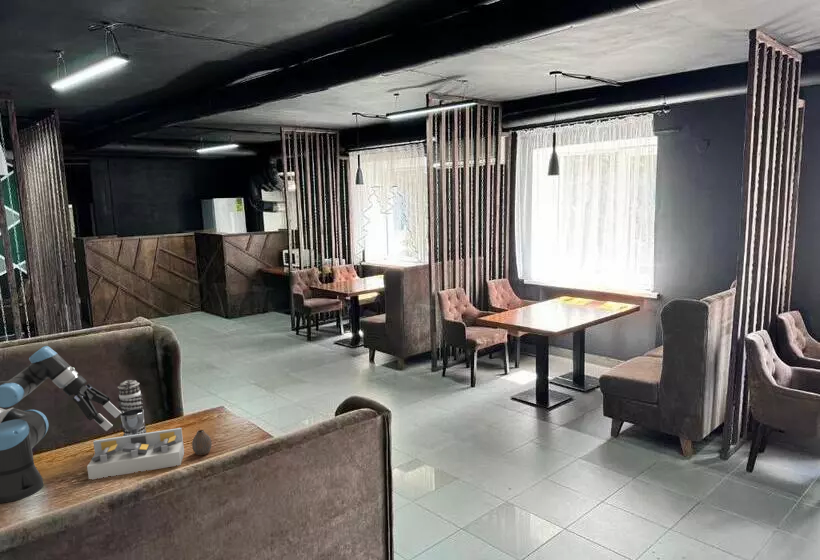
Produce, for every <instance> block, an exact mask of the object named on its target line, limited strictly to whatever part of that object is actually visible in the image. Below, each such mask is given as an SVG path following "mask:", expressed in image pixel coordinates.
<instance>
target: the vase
mask: <svg viewBox="0 0 820 560" xmlns="http://www.w3.org/2000/svg"><path fill="white" fill-rule="evenodd" d="M212 443H213V442H212V439H211V437H210V436H209V434H208V433H206V432H205V430H204V429H199V430H197V431H196V434H195V435H194V436H193V439H192V441H191V446H192V447H191V448H192V451H193V452H194V453H195V454H196V455H197V456H203V455H208V453H209V452H210V451H211V449H212Z"/></svg>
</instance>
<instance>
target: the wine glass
mask: <svg viewBox="0 0 820 560" xmlns="http://www.w3.org/2000/svg"><path fill="white" fill-rule="evenodd" d="M143 410H144V408H143V409H131V410H127V411H124V412H122V413H121V414H120V420H121V423H122V427H123V426H124V428H125V429H126V430H128V431H129V432H130V433H131V434H132V435H135V434H137V433H138V431H139V429H140V428H141V427H142V425H143V421H144V422H145V415H144V412H143Z"/></svg>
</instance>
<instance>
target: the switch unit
mask: <svg viewBox="0 0 820 560" xmlns="http://www.w3.org/2000/svg"><path fill="white" fill-rule="evenodd" d="M182 429H183V427H177V428H171V429H170V428H169V429H163V430H157V431H151V432H146V433H142V434H135V435H128V436H123V435H122V436H116V437H109V438H102V439H97V440H96V439H95V440H93V443H92V444H93V450H94V454H95V453H97V452H100V451H102V450H105V448H107V447H109V448H110V447H111V446H114V445H116V444H118V445H119V449H118V451H117V452H116V453H114V454H111V455H109V456H107V454H105V455H100V459H99V460H96V461H94V462H93V461H92V459H90V462H89V463H88V464H87V466H86V469H87V474H88V475H87V477H88V480H89V479H92V480H96V479H97V478H98V479H104V478H109V477H108V476H111V477H116V475H117V476H121V475H128V474H134V472H135V473H139V472H138V471H141V472H147V471H151V470H158V469H159V470H160V469H165V468H170V467H171V468H172V467H177V466H181V464H182V462H183V459H184V454H185V448H184V440H183V439H184V438H183V430H182ZM175 435H177V437H178V440H177V443H176V444H173V445H171V446H168V447H167V445H163V446H161V450H159V451H156V452H154V451H153V448H154V446H155V444H156V443H159V442H161V441H164V440H165V439H166V438H167V439H169V438H170V437H173V436H175ZM126 443H133V444H136V443H140V444H149V449H148V451H147V453H138V450H131V452H122V451H123V447H124V446H125V444H126ZM176 465H177V466H176ZM146 470H147V471H146ZM103 477H104V478H103Z"/></svg>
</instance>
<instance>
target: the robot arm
mask: <svg viewBox="0 0 820 560" xmlns="http://www.w3.org/2000/svg"><path fill="white" fill-rule="evenodd" d="M28 360H29V362H30V364H29V365H28V366H27V367H25V368H24V369H23V370H22V371H20V372H19V373H17V374H16V375H15V376H13V377H12V378H10V379H8V380H2V381H0V504H2V503H3V504H4V503H10V502H14V501H18V500H21V499H24V498H27V497H30V496H31V495H33V494H35V493H37V492H39V491H40V490H41V489H42V488H43V487H44V479H43V476H42V475H41V473H40V471H39V470H38V468H37V467H36V465H35V461H34V455H33V454H34V453H33V448H35V446H36V445H37V444H38V443H39V442H41V441H42V440H43V439H44V438H45V436H46V434H47V432H48V431H49V425H50V424H49V420H48V418H47V416H46V415H45V414H44V413H43V412H42V411H40V410H37V409H27V410H22V409H19V408H15V407H13V406H15V405H16V404H18V403H19V402H21V401H22V400H23V399H24V398H25V397H27V396H29V395H30V394H31V393H32V392H33V391H34V390H36V389H37V388H38V387H39V386H40V385H41V384H43V383H44V382H45V381H46V380H48V379H50V381H52V383H53V384H54V385H56V387H58V388H59V389H62V392H63V393H65V394H66V395H67V396H68V397H72V396H73V395H74V397H72V400H73V402H75V403H76V404H77V407H78V408H79V409H80V410H81V411H82V413H83V415H84V416H85V417H86V419H87V420H89V421H90V422H91V421H92V420H94V422H95V423H97V424H98V425H99V426H100V427H101V428H102V429H103V430H104V431H105V432H108V430H110V429H111V428H113V425H114V424H112V423H111V422H110V421H109V420H108V419H107V418H106V417H104V416H103V414H101V413H98V411H97V409H96V408H95V406H94V404H93V402H95V403H98V404H100V405H102V407H103V408H104V410H106V411H107V412H108V413H110V415H111V416H113V417H114V419H116V418H118V417H119V416H121V412H120V411H121V410H120V409H118V408H117V407H116V406H115V405H114V404H113V403H112V402H111V401H110V400H111V397H110V396H108V395H106V394H105V393H103V392H101V391H100V390H98V389H97V388H95V387H94V386H92V385H91V384H90V383H88V381H87V380H86V378H84V376H82V375H79V372H78V371H77V370H76V369H75V367H72V366H71V365H70V364H69V363H68V362H67V361H66V360H65V359H64V358H63V357H62V356H61V355H60V354H58V352H56V351H55V350H53V348H51V347H50V346H48V345H45V346H42V347H41V348H39V349H38V350H37V351H35V352H34V353H33V354H31V356H29V358H28ZM92 401H93V402H92ZM10 407H11V408H10ZM4 408H8V409H4Z"/></svg>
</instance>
